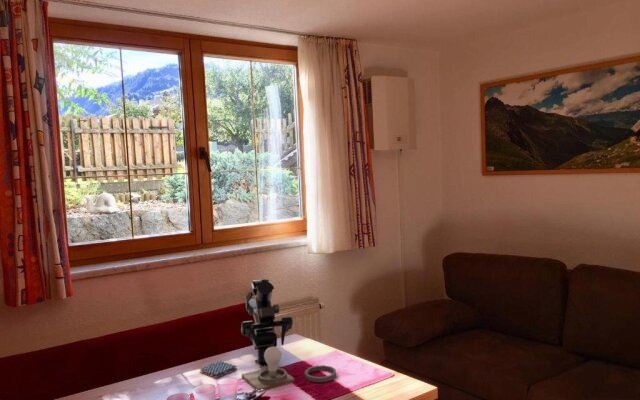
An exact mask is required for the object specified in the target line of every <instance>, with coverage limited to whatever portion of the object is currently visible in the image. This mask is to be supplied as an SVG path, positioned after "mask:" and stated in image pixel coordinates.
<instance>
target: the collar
mask: <svg viewBox="0 0 640 400" xmlns="http://www.w3.org/2000/svg"><path fill="white" fill-rule="evenodd" d="M317 371H326V372H330V373H331V374H328V375H325V376H313V375H310V374H311V373H313V372H317ZM336 377H337V369H336V368H334V367H333V366H329V365H315V366H311V367H308V368H307V369H305V371H304V378H305V379H306V380H307V381H308V382H313V383H326V382H328V381H329V382H330V381H332V380H334V379H335V378H336Z"/></svg>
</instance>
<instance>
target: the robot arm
mask: <svg viewBox="0 0 640 400" xmlns="http://www.w3.org/2000/svg"><path fill="white" fill-rule="evenodd" d="M274 287H275V285H273V283H272V281H270V279H269V278H264V279H253V280H252V281H251V283H250V287H249V292H248V293H247V295H246V296H245V308H246V309H245V310H246V311H247V312H248V315H249V316H253V319H254V323H253V320H246V321H245V320H244V321H242V322H241V328H240V331H241V332H240V333H241V335H242V336H245V337H248V338H249V339H250V341H251V343H252V345H253V346H252V347H253V349H254V350H255V351H256V350H257V359H255V360H254V362H255V363H256V364H258V365H259V366H260V367H264V366H268V365H267V363H266V361H265V358H264V353H265V351H266V349H267V348H269V347H277V346H278V334H277V333H276V331H275V330H274V328H276V327H277V328H278V327H280V340H281V341H280V343H281V346H284V343H285V336H286V333H288V332H289V331H290V330H291V329H292V327H293V323H294V321H293V317H292V316H291V315H288V316H281V318H280V320H276V321H275V319H276V317H275V316H276V315H278V314H279V313H280V305H279V304H278V303H277V304H273V306H272V298H273V290H274V289H275V288H274ZM253 296H256V297H255V298H253Z"/></svg>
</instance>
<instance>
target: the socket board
mask: <svg viewBox="0 0 640 400" xmlns="http://www.w3.org/2000/svg"><path fill="white" fill-rule="evenodd" d="M241 378H242V379H244V380H245V382H246V383H248V384H249V385H250V386H251V387H252V388H253V387H254V388H253V389H254V390H256V389H257V390H261V389H266V390H270V389H273V388H276V387H279V386H280V387H281V386H283V385H284V386H285V385H287V384H291V383H294V382H296V379H295V377H293V376H292V375H290V374H289V373H288V372H287V370H285V369H284V368H281V367H279V366H277V370H276V376H275V377H274V378H272V377H270V376H269V370H268V367H265V368H262V369H257V370H253V371H250V372H246V373H242V374H241ZM257 390H256V391H257Z"/></svg>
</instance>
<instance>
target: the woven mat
mask: <svg viewBox="0 0 640 400" xmlns="http://www.w3.org/2000/svg"><path fill="white" fill-rule="evenodd" d="M237 367H238V366H237V365H235V364H234V365H233V363H229V362H226V361H222V360H220V361H217V362H214V363H211V364H210V365H207V366H204V367H201V368H200V372H199V373H201V374H204V375H208V376H210V377H212V378H215V379H217V378H221V377H222V376H225V375H227V374H229V373H233V372H234V371H236V370H238V368H237Z"/></svg>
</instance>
